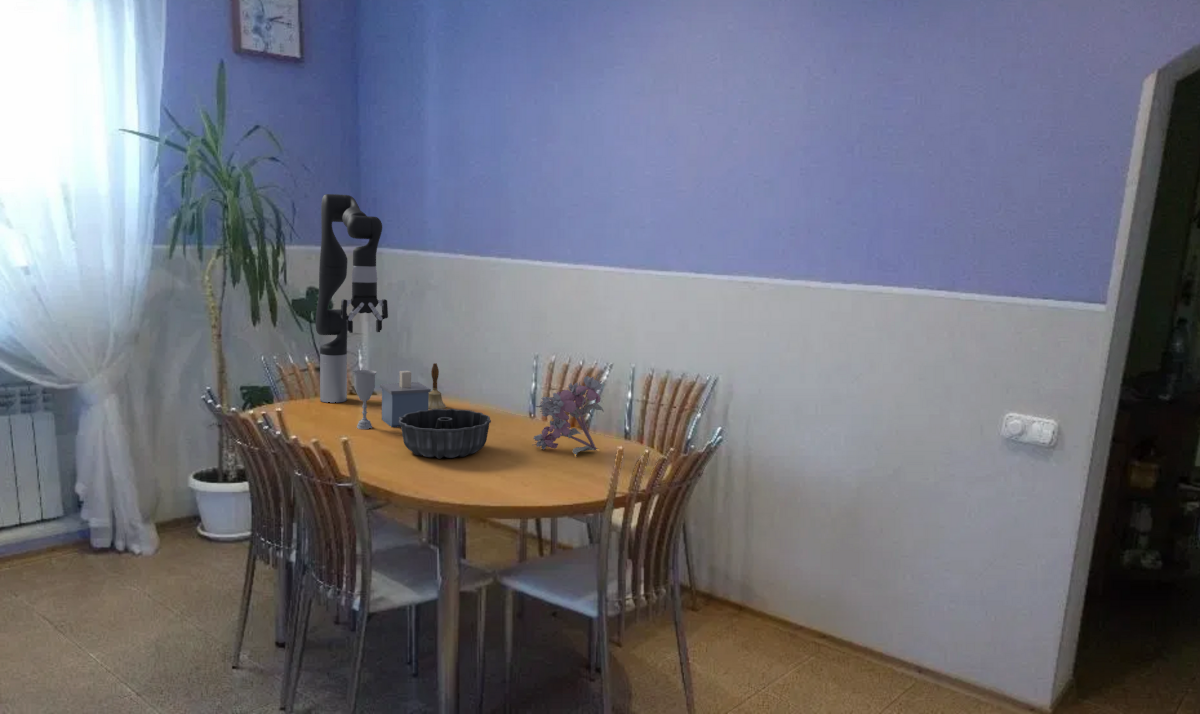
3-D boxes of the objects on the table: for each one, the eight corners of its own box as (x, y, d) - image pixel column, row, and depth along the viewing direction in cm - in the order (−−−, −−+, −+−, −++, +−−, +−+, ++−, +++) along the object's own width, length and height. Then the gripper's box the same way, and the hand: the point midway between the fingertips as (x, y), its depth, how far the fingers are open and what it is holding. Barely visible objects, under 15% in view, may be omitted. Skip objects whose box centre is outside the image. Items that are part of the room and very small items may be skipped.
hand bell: (446, 409, 305) (447, 365, 303) (423, 409, 303) (423, 365, 301) (445, 404, 313) (446, 361, 311) (422, 404, 311) (423, 361, 309)
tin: (381, 419, 285) (382, 387, 283) (416, 417, 291) (417, 385, 289) (391, 427, 275) (392, 394, 273) (428, 424, 281) (428, 392, 279)
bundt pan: (406, 466, 232) (406, 430, 231) (391, 442, 256) (391, 410, 255) (500, 461, 242) (501, 426, 241) (477, 438, 266) (478, 407, 265)
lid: (380, 390, 284) (380, 369, 283) (418, 388, 290) (418, 367, 289) (391, 398, 273) (391, 375, 272) (430, 395, 279) (430, 374, 278)
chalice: (379, 425, 276) (379, 370, 274) (371, 430, 270) (372, 374, 267) (357, 424, 277) (357, 369, 274) (349, 429, 270) (349, 372, 268)
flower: (578, 432, 273) (550, 365, 264) (629, 440, 257) (601, 368, 248) (535, 469, 261) (504, 399, 252) (586, 479, 245) (555, 405, 236)
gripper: (383, 280, 274) (383, 330, 276) (338, 279, 267) (338, 331, 269) (390, 281, 267) (390, 333, 270) (344, 281, 260) (344, 334, 263)
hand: (364, 332), depth 269 cm, fingers open, 8 cm apart
